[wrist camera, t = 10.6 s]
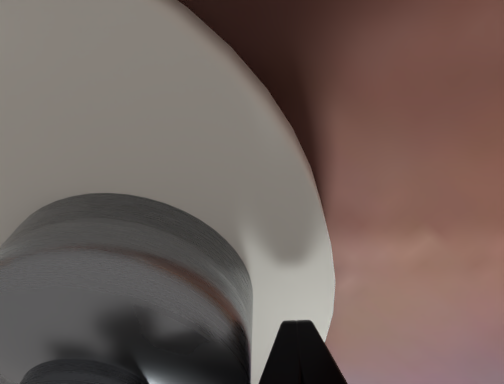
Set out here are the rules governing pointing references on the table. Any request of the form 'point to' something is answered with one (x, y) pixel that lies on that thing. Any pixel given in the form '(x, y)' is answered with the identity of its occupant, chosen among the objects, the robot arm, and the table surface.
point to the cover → (122, 297)
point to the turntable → (162, 140)
